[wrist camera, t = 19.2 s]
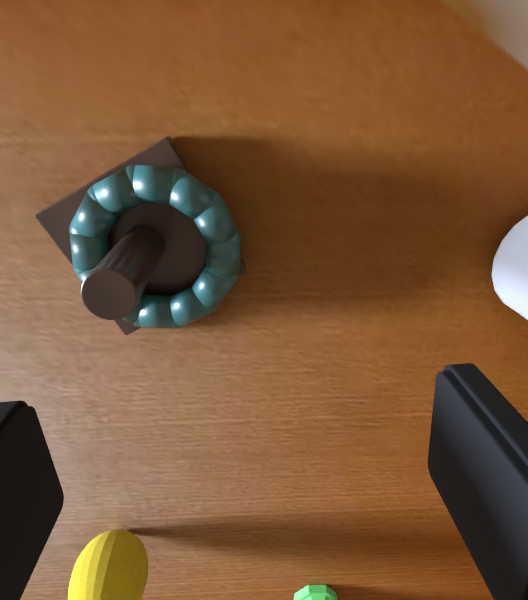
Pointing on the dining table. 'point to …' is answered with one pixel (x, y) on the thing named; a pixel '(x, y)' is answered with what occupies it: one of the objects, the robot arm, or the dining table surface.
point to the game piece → (316, 593)
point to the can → (513, 269)
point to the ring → (184, 197)
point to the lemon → (110, 568)
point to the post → (135, 245)
